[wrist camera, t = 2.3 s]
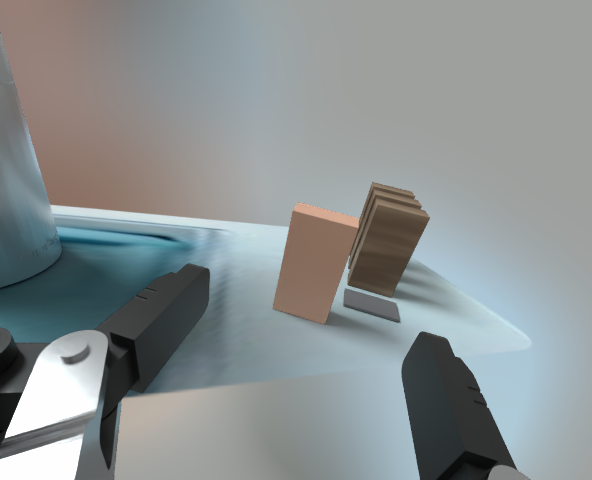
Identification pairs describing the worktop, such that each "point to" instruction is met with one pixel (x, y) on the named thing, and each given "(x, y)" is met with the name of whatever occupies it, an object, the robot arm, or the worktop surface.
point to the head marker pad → (371, 305)
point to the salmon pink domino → (314, 261)
